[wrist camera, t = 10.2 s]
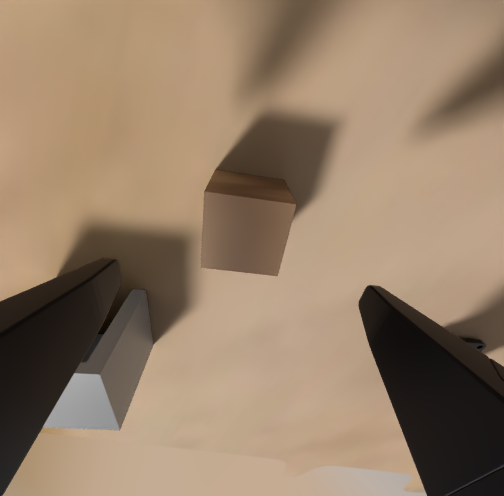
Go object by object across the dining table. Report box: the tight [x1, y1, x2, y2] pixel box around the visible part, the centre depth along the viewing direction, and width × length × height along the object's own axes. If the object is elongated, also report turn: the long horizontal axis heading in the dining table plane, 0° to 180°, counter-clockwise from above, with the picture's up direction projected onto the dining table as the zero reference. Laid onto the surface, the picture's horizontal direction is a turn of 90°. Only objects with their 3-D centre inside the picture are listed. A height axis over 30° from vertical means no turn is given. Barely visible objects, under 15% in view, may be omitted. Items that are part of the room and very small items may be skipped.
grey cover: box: [43, 289, 153, 430], centre depth 16 cm, size 7×7×6 cm
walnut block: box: [201, 170, 297, 276], centre depth 13 cm, size 4×4×4 cm
